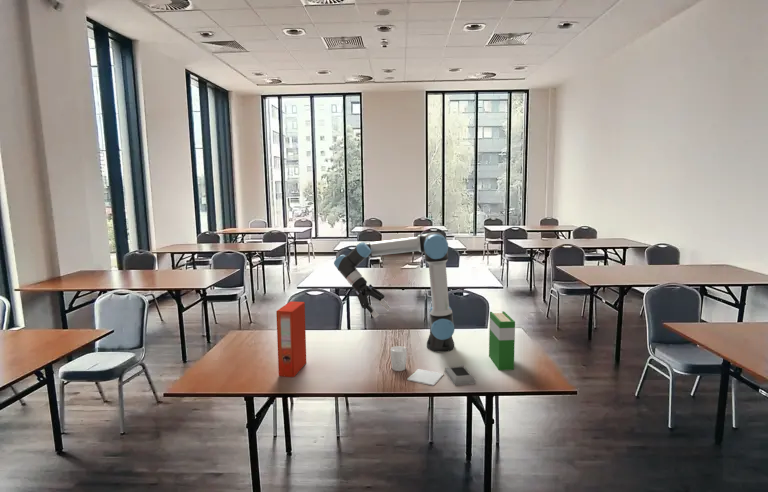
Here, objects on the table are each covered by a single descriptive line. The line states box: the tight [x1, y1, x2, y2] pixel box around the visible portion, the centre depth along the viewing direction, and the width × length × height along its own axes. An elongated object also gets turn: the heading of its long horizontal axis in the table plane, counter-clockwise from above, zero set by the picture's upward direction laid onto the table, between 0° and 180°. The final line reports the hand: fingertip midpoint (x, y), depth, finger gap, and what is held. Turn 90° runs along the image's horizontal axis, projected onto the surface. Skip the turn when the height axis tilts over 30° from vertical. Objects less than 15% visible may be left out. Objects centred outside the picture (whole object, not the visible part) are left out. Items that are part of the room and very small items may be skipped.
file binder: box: [275, 301, 307, 378], centre depth 223 cm, size 8×17×32 cm, turn 170°
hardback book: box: [488, 311, 516, 371], centre depth 228 cm, size 18×7×24 cm, turn 2°
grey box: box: [444, 365, 476, 386], centre depth 213 cm, size 10×4×15 cm
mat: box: [406, 368, 444, 387], centre depth 213 cm, size 13×13×1 cm
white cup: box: [389, 345, 408, 372], centre depth 224 cm, size 8×8×10 cm
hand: (383, 313), depth 229 cm, fingers open, 13 cm apart
